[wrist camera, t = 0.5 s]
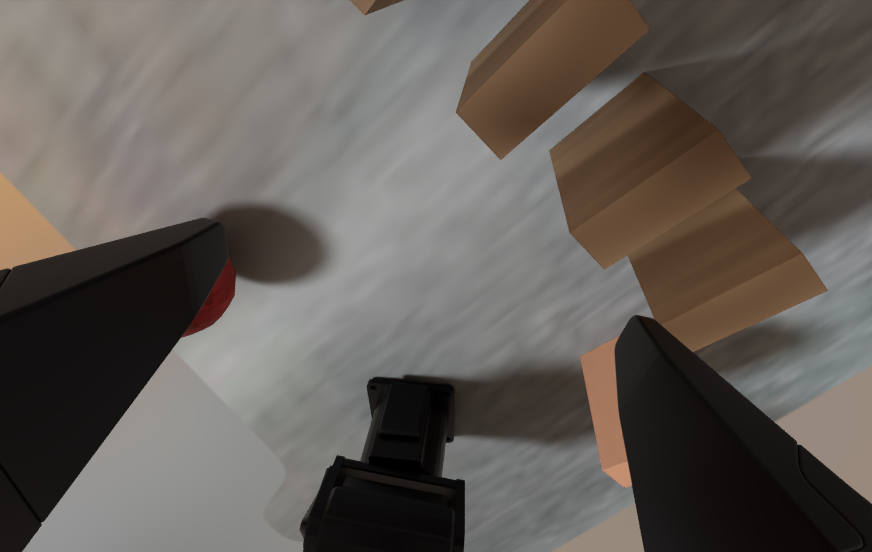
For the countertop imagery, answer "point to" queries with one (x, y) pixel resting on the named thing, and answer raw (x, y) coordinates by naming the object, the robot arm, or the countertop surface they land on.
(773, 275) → the domino
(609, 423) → the loose domino
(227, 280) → the pomegranate
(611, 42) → the domino
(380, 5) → the domino
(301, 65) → the countertop surface
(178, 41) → the countertop surface
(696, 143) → the domino
